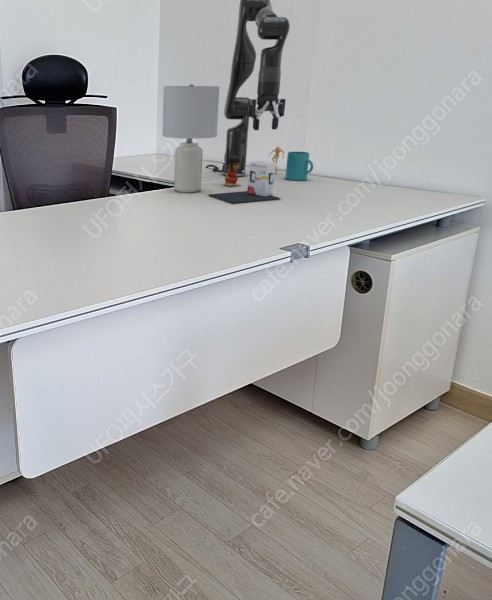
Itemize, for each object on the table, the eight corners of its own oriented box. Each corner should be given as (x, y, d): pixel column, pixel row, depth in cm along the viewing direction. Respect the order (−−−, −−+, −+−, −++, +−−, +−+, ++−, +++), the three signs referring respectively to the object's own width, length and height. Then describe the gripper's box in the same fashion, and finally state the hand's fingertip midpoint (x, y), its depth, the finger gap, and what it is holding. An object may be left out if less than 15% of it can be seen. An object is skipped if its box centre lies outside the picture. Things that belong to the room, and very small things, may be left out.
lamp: (191, 184, 243) (195, 83, 229) (224, 192, 227) (231, 84, 213) (151, 189, 233) (152, 83, 219) (183, 197, 217) (187, 84, 203)
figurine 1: (221, 186, 240) (223, 155, 236) (225, 183, 245) (226, 154, 240) (237, 187, 238) (239, 156, 233) (240, 184, 242) (242, 155, 238)
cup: (305, 182, 248) (308, 155, 244) (281, 179, 256) (283, 152, 252) (317, 180, 254) (320, 153, 250) (292, 176, 262) (295, 150, 258)
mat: (209, 195, 220) (209, 194, 220) (254, 192, 227) (254, 190, 227) (232, 203, 206) (232, 202, 206) (279, 199, 214) (280, 197, 213)
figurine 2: (262, 172, 273) (264, 146, 269) (270, 171, 277) (272, 145, 272) (277, 175, 267) (279, 147, 263) (285, 173, 271) (288, 146, 266)
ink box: (246, 193, 221) (248, 161, 217) (255, 192, 224) (257, 160, 220) (264, 197, 215) (267, 164, 210) (273, 195, 218) (276, 162, 213)
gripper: (279, 80, 211) (275, 128, 217) (245, 80, 206) (242, 129, 212) (292, 80, 205) (288, 129, 211) (258, 80, 199) (254, 131, 205)
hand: (265, 129), depth 211 cm, fingers open, 7 cm apart
